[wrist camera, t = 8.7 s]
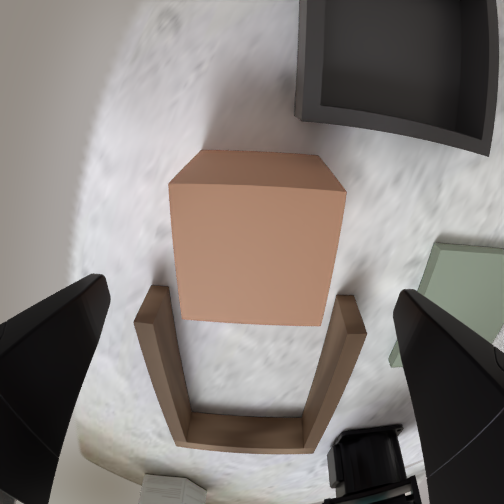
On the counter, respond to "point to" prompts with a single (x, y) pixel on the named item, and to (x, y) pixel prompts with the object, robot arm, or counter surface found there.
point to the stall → (241, 427)
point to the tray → (401, 68)
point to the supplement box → (170, 491)
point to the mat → (465, 288)
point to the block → (255, 236)
